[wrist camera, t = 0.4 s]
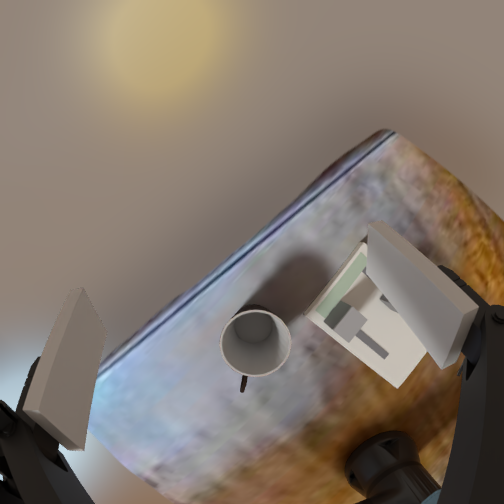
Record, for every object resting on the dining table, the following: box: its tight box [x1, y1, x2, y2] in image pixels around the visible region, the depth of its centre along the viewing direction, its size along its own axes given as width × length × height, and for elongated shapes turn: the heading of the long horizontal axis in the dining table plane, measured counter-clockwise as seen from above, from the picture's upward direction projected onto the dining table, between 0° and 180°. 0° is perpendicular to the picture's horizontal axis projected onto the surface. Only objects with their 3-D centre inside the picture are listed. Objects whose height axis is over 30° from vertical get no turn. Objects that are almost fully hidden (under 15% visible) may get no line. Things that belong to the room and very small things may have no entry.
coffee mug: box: [219, 305, 291, 393], centre depth 41 cm, size 12×9×10 cm
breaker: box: [323, 300, 368, 343], centre depth 41 cm, size 3×4×5 cm
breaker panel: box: [303, 242, 427, 389], centre depth 45 cm, size 22×14×2 cm, turn 50°
